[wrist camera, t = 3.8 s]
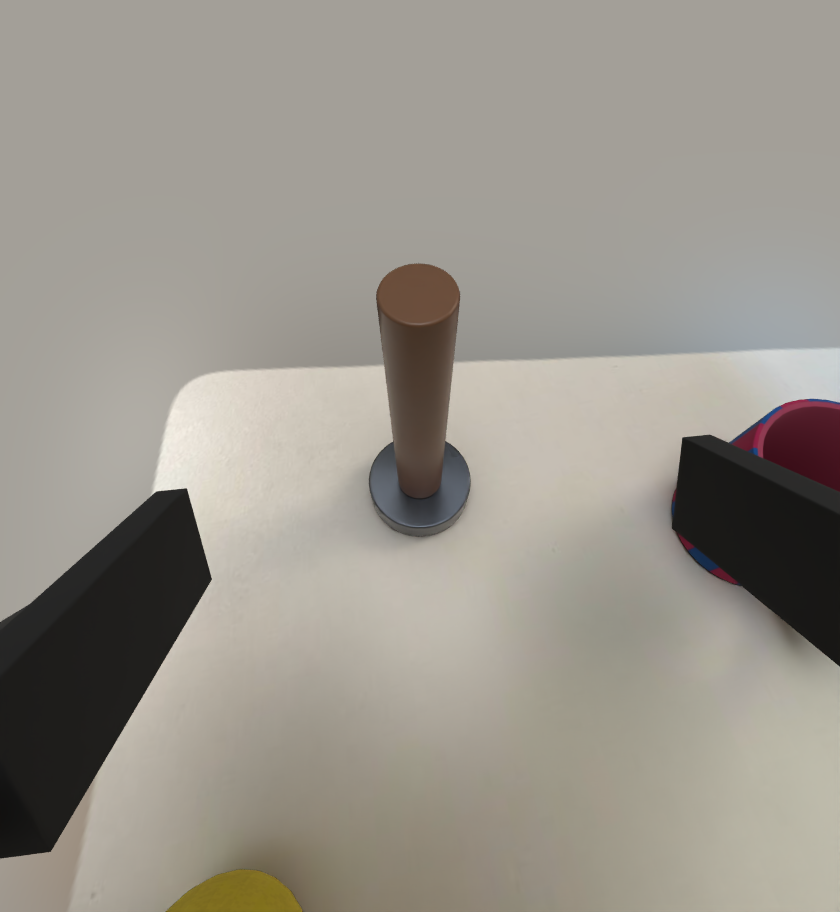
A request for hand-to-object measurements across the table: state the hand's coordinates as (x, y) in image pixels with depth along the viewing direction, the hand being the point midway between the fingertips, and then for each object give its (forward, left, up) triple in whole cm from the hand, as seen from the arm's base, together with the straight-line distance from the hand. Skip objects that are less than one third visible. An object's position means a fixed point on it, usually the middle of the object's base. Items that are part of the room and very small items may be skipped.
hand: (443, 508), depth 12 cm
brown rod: (-1, +5, -12) cm, 13 cm away
